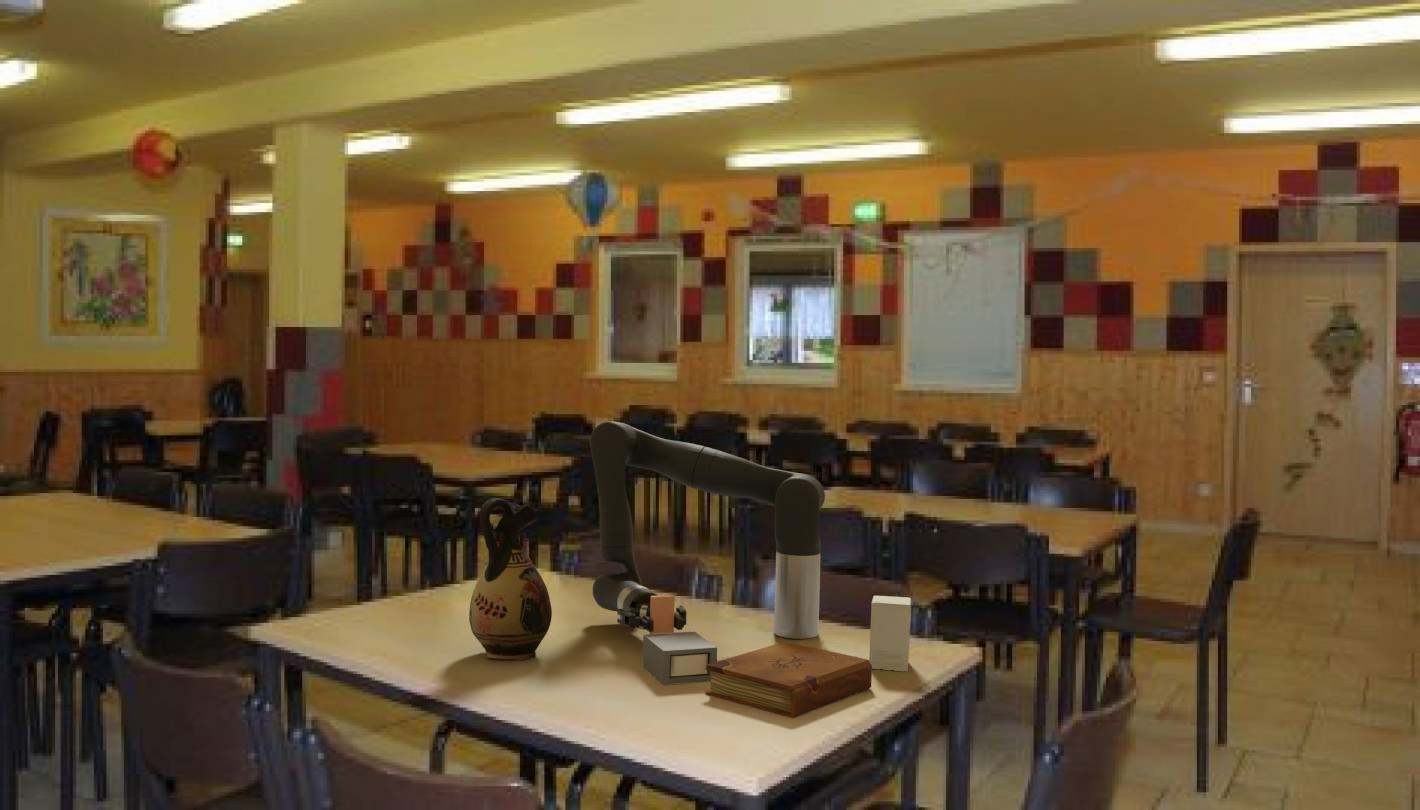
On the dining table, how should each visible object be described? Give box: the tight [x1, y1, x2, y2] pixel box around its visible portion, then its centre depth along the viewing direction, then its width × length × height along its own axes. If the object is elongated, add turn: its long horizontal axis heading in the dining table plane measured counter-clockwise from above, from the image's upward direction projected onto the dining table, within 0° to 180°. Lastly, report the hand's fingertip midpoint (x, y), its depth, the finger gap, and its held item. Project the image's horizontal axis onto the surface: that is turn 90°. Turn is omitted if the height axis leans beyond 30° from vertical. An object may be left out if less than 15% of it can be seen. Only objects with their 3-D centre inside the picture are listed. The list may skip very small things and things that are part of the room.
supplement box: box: [868, 595, 912, 672], centre depth 220 cm, size 7×7×13 cm
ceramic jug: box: [468, 497, 553, 661], centre depth 220 cm, size 17×15×30 cm
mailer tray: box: [643, 594, 708, 676], centre depth 213 cm, size 9×17×12 cm, turn 20°
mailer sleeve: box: [642, 631, 718, 686], centre depth 211 cm, size 10×12×6 cm
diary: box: [705, 640, 873, 719], centre depth 201 cm, size 23×19×6 cm
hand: (666, 625), depth 218 cm, fingers open, 5 cm apart
